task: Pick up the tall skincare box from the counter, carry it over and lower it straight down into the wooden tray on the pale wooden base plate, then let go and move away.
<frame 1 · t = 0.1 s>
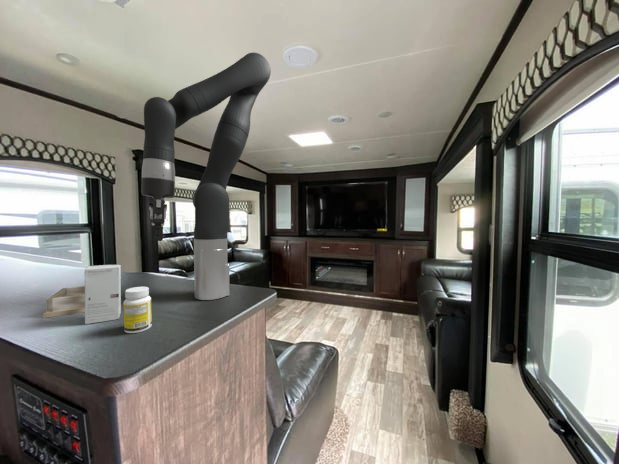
hand: (157, 239, 65), 17 cm above the table, tool pointing down, fingers open, 8 cm apart
supplement bottle: (138, 329, 51), on the table
skincare box: (104, 319, 56), on the table
wooden tray: (84, 305, 64), on the table
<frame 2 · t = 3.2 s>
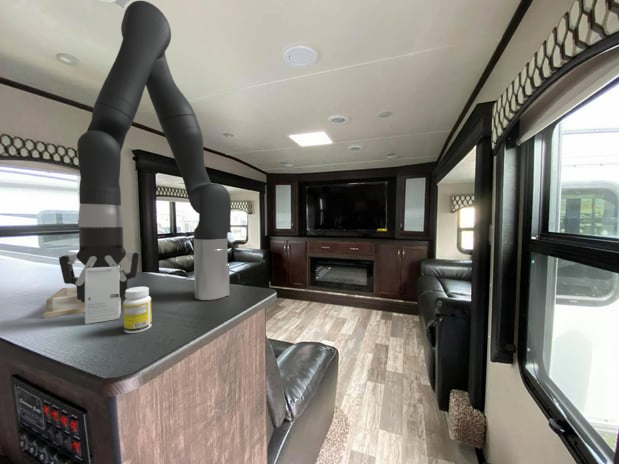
hand: (103, 298, 56), 5 cm above the table, tool pointing down, fingers closed on skincare box, 6 cm apart
skincare box: (104, 319, 56), on the table, touching gripper
everything else where it was.
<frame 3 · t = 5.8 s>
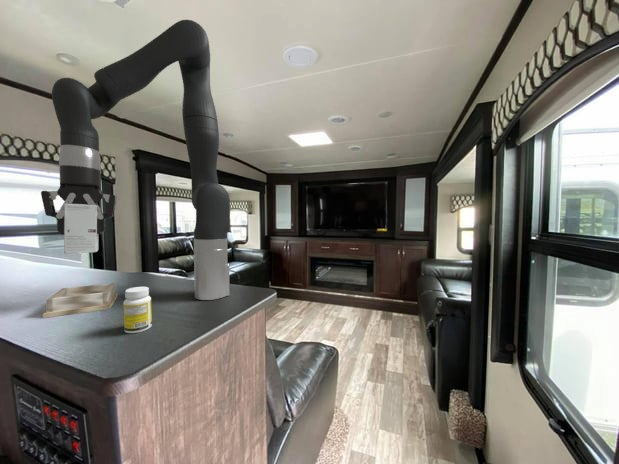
hand: (82, 233, 62), 19 cm above the table, tool pointing down, fingers closed on skincare box, 6 cm apart
skincare box: (82, 252, 62), point 14 cm above the table, touching gripper
everything else where it was.
when the fingers open (7 cm above the table, at t = 8.4 s): skincare box stays where it is, resting on wooden tray.
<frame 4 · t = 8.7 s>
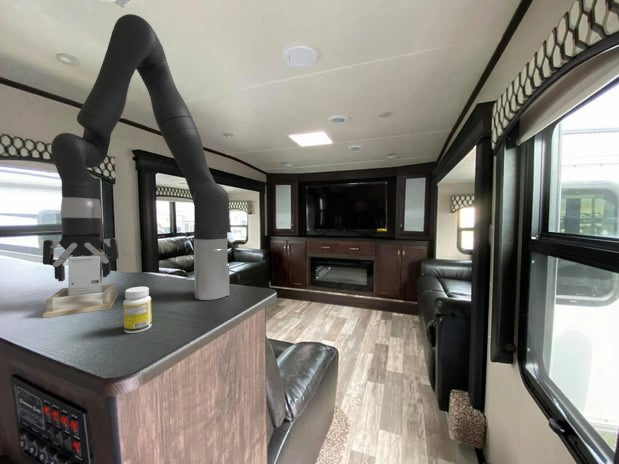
hand: (84, 278, 64), 7 cm above the table, tool pointing down, fingers open, 8 cm apart
skincare box: (87, 302, 64), point 1 cm above the table, touching wooden tray
everything else where it was.
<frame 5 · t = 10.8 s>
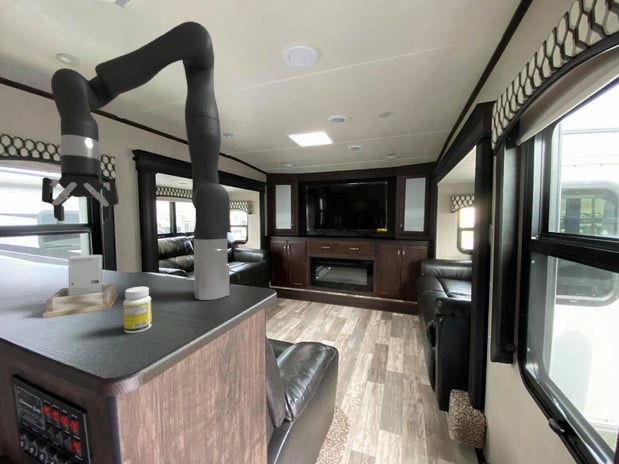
hand: (83, 220, 63), 22 cm above the table, tool pointing down, fingers open, 8 cm apart
nothing on the table moved.
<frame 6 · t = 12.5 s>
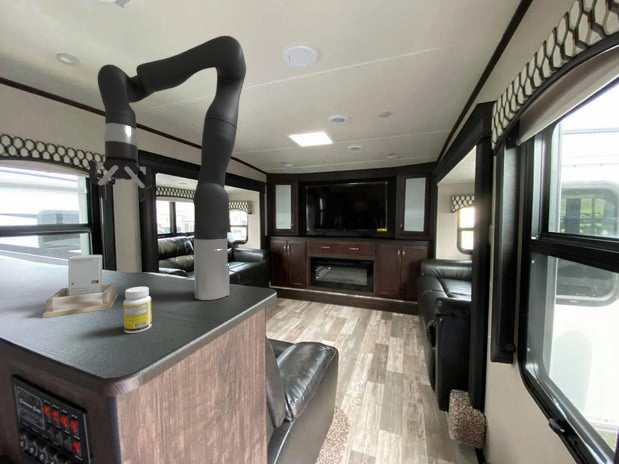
hand: (123, 200, 71), 28 cm above the table, tool pointing down, fingers open, 8 cm apart
nothing on the table moved.
at the end: skincare box 0.4 cm off-centre on the wooden tray, point 0.8 cm above the wooden tray's base; skincare box tilted 0°; the gripper is holding nothing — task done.
